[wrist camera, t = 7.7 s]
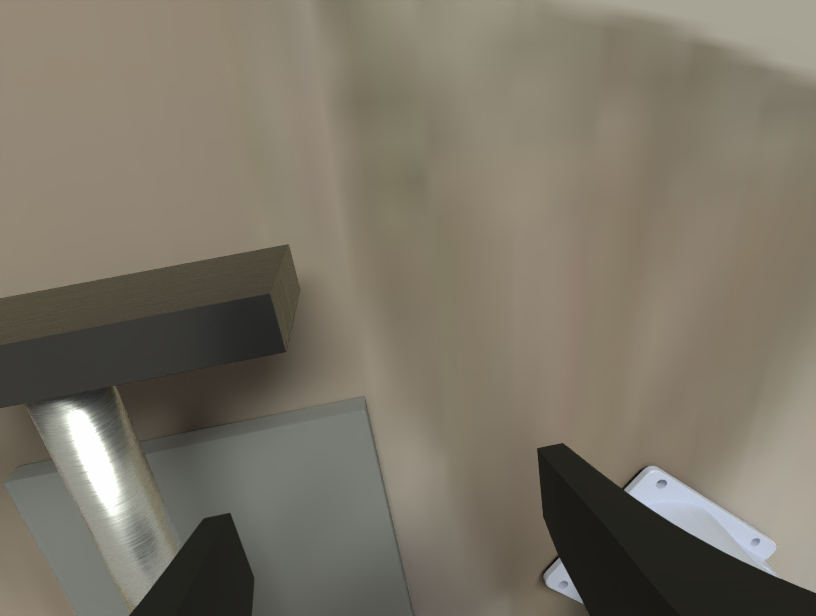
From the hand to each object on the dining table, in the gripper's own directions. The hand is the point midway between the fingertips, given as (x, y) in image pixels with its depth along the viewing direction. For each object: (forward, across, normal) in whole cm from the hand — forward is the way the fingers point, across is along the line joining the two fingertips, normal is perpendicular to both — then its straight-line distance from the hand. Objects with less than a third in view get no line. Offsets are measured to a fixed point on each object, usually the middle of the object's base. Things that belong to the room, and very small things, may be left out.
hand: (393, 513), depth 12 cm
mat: (+9, +8, +15) cm, 20 cm away
